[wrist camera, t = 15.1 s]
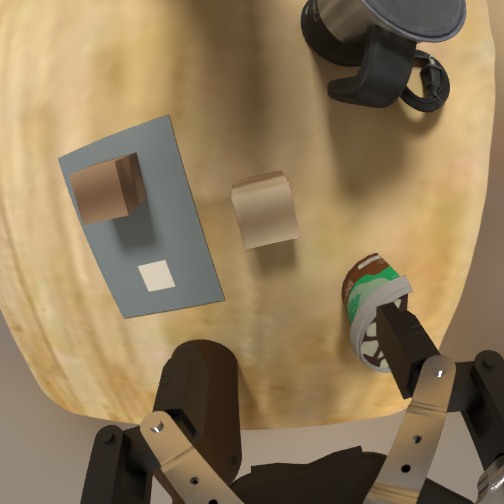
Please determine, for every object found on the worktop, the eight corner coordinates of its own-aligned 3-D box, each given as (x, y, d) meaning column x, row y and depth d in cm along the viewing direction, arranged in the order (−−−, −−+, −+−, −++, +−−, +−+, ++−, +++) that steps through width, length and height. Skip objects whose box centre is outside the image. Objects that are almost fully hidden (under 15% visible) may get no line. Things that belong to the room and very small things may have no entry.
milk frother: (293, -12, 23) (326, -84, 9) (425, 0, 22) (506, -32, 9) (314, 114, 29) (369, 119, 16) (442, 112, 28) (536, 128, 15)
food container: (326, 253, 35) (352, 303, 26) (376, 241, 35) (413, 285, 26) (336, 332, 41) (356, 387, 32) (378, 321, 40) (405, 372, 31)
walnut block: (95, 163, 30) (69, 175, 25) (136, 152, 30) (114, 161, 24) (107, 206, 32) (83, 225, 27) (147, 197, 32) (128, 215, 26)
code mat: (58, 158, 30) (57, 158, 29) (168, 114, 28) (168, 114, 28) (124, 317, 39) (124, 318, 39) (224, 299, 38) (224, 300, 38)
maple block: (233, 181, 32) (231, 197, 26) (281, 170, 31) (289, 183, 26) (245, 226, 34) (245, 249, 28) (290, 215, 34) (299, 237, 28)
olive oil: (189, 322, 39) (154, 511, 17) (256, 356, 42) (265, 531, 20) (155, 366, 43) (119, 522, 20) (216, 394, 46) (208, 544, 23)
